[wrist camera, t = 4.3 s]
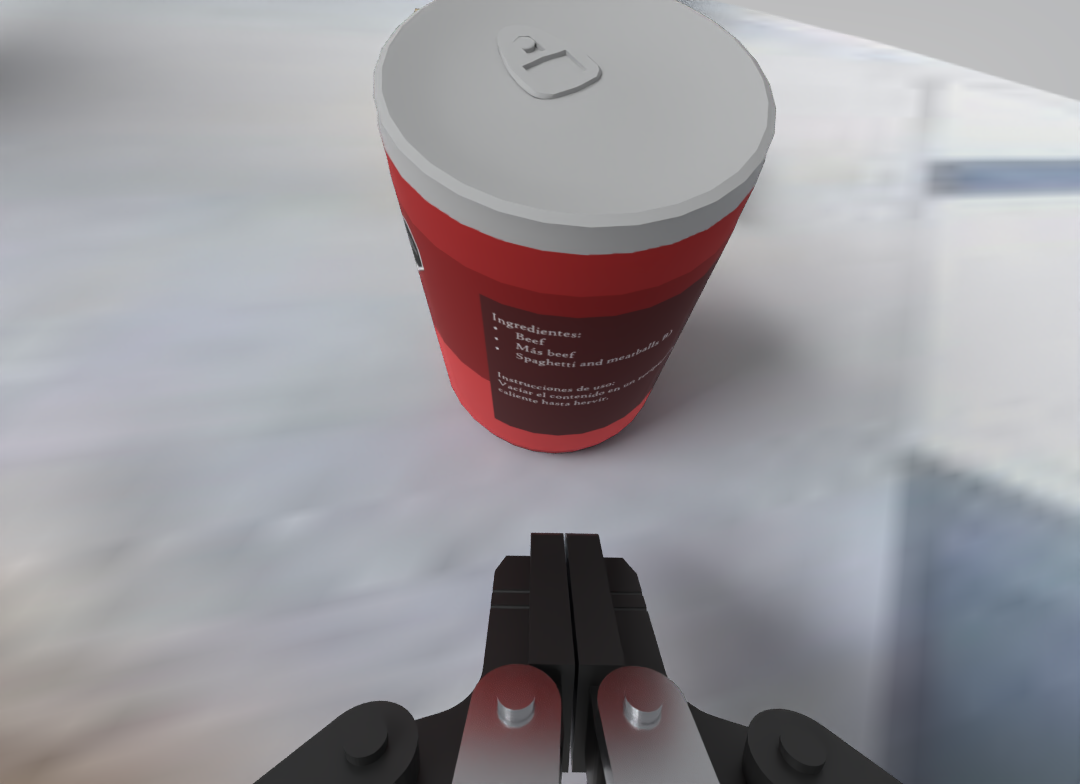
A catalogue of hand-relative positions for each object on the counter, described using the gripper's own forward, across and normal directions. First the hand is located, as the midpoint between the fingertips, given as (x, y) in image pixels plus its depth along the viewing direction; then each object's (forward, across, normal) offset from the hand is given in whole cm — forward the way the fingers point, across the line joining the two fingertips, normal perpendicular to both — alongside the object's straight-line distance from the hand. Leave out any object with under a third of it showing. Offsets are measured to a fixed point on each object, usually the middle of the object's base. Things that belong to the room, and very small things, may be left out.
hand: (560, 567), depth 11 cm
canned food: (+9, 0, -2) cm, 10 cm away
